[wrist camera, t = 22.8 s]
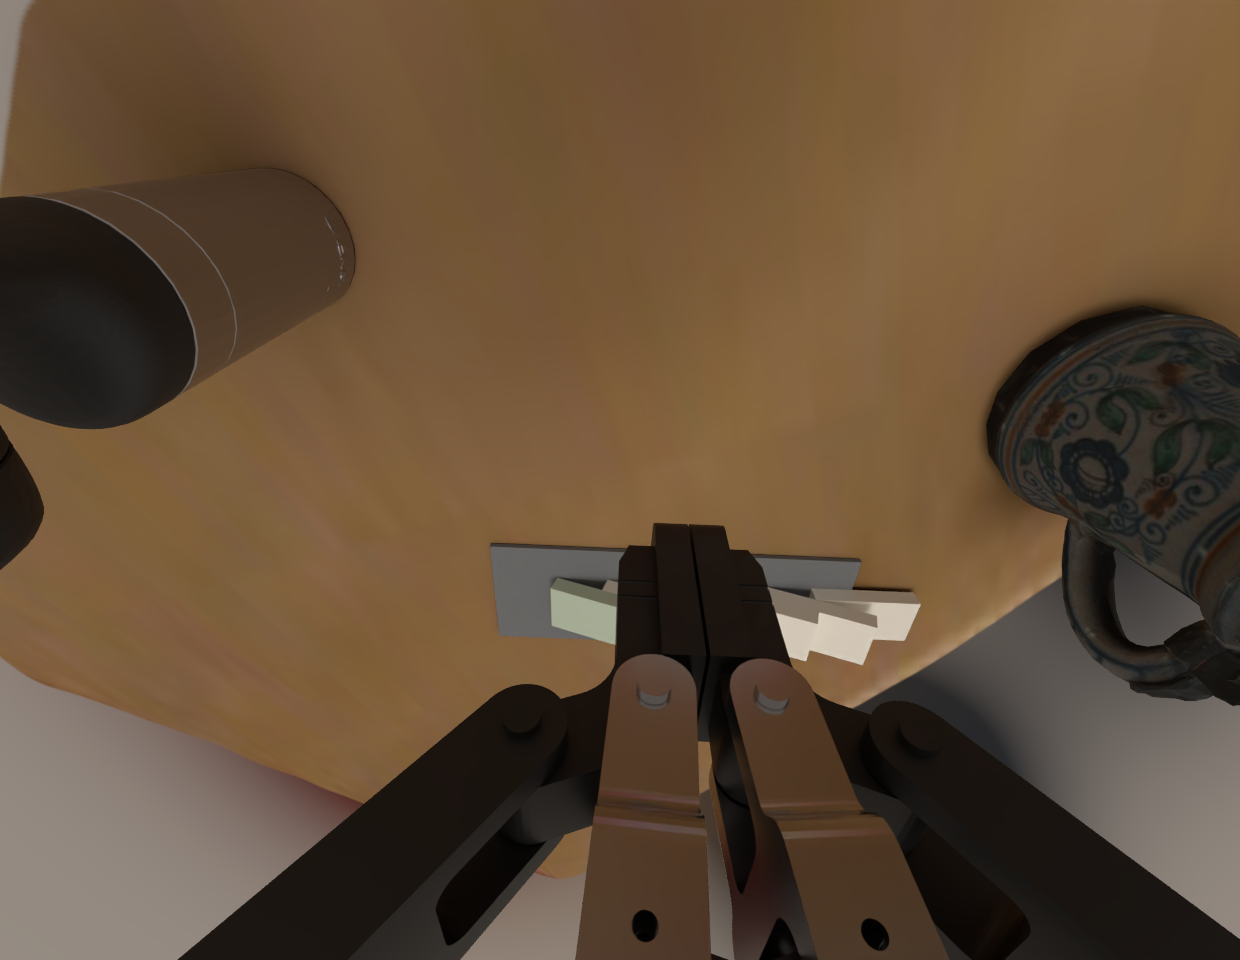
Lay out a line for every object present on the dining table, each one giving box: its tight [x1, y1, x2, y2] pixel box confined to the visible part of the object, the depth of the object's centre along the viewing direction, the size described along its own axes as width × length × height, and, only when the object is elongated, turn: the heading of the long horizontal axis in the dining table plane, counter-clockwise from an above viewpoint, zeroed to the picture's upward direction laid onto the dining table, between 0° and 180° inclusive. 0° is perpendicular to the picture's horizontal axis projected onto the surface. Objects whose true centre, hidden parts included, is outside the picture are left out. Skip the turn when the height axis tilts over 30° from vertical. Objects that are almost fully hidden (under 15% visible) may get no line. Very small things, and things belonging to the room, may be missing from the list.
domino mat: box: [490, 543, 862, 640], centre depth 56 cm, size 35×12×1 cm, turn 88°
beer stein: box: [986, 306, 1240, 706], centre depth 35 cm, size 16×19×25 cm
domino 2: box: [772, 600, 819, 661], centre depth 54 cm, size 2×5×10 cm
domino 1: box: [550, 578, 617, 645], centre depth 54 cm, size 2×5×10 cm
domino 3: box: [768, 587, 878, 665], centre depth 54 cm, size 2×5×10 cm
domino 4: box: [809, 588, 921, 641], centre depth 56 cm, size 2×5×10 cm
